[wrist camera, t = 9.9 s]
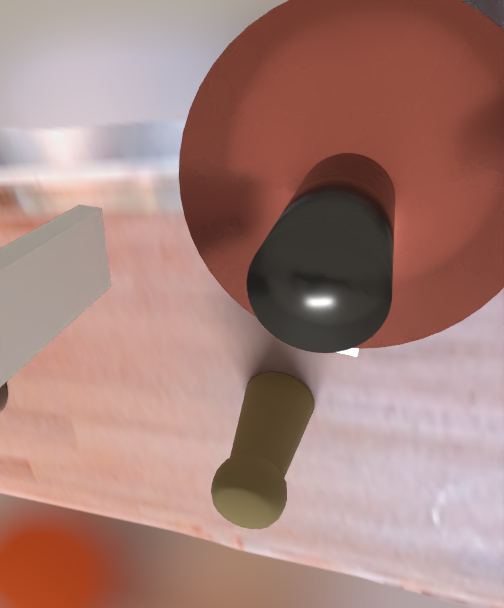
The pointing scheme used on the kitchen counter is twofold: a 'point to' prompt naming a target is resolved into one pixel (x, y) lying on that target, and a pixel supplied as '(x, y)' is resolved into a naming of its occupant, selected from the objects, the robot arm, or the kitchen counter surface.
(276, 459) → the olive pepper mill
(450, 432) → the kitchen counter surface
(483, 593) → the kitchen counter surface
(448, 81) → the lid
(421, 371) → the kitchen counter surface
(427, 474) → the kitchen counter surface
